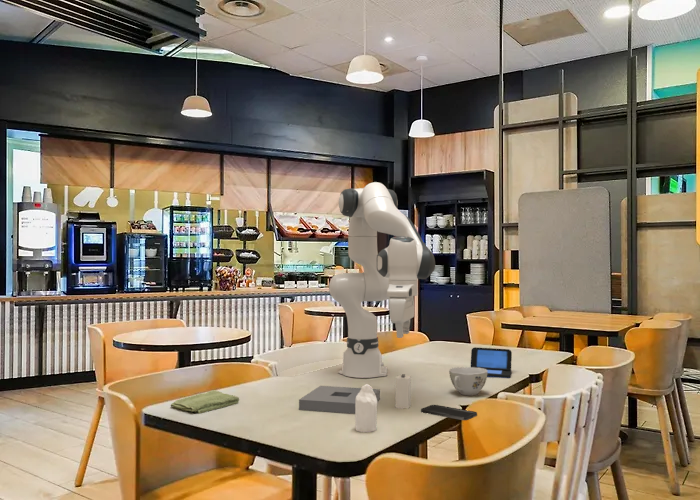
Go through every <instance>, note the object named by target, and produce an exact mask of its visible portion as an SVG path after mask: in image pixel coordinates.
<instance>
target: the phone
mask: <svg viewBox="0 0 700 500" xmlns="http://www.w3.org/2000/svg"><path fill="white" fill-rule="evenodd" d="M420 412H421V413H422V412H423V414H427V413H428V415H433V416H438V417H444V418H449V419H455V420H460V421H469V420H470V419H473V418H475V417H477V416H478V412H477V411H474V410H473V411H472V410H468V411H467V409H462V408H456V407H450V406H445V405H440V404H439V405H438V404H430V405H427V406H425V407H422V408H421V409H420Z"/></svg>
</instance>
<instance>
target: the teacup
mask: <svg viewBox="0 0 700 500" xmlns="http://www.w3.org/2000/svg"><path fill="white" fill-rule="evenodd" d="M448 372H449V378H450V381H451V383H452V385H453V387H454V389H456V390H457V392H458V393H459V394H460V395H463V396H477V395H479V393H480V391H482V389H483V388H484V387H485V385H486V383H487V378H488V377H487V372H488V371H487V370H486V369H484V368H474V367H471V366H469V367H467V366H466V367H463V366H461V367H459V366H457V367H452V368H450V369H449V370H448Z"/></svg>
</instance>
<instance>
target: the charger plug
mask: <svg viewBox="0 0 700 500" xmlns="http://www.w3.org/2000/svg"><path fill="white" fill-rule="evenodd" d="M394 381H395V382H394V383H395V385H394V387H395V388H394V389H395V392H394V393H395V399H394V401H395V406H394V407H395V409H403V408H408V409H407V410H409V409H410V408H411V406H412V375H406V374H405V373H404V374H400V375H397V376H396V377H395V380H394ZM409 407H410V408H409Z"/></svg>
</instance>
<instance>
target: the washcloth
mask: <svg viewBox="0 0 700 500" xmlns="http://www.w3.org/2000/svg"><path fill="white" fill-rule="evenodd" d="M239 401H240V397H239V396H236V395H233V394H228V393H223V392H221V391H218V390H214V389H211V390H210V391H207V392H203V393H198V394H195V395H190V396H187V397H184V398H180V399H176V400H175V401H173V402H172V403H171V404H170V407H171V408H173V409H178V410H181V411H184V412H185V411H186V412H192V413H195V414H205V413H207V412H211V411H214V410H215V411H216V410H219V409H222V408H226V407H229V406H235V405H237V404H238V403H239Z"/></svg>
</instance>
